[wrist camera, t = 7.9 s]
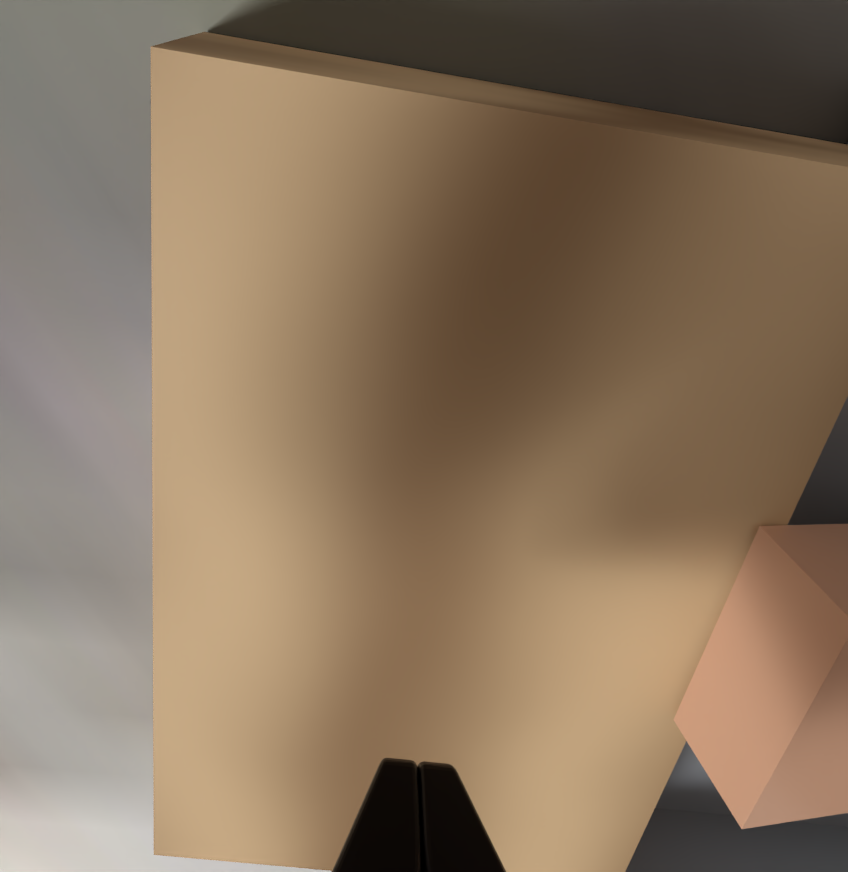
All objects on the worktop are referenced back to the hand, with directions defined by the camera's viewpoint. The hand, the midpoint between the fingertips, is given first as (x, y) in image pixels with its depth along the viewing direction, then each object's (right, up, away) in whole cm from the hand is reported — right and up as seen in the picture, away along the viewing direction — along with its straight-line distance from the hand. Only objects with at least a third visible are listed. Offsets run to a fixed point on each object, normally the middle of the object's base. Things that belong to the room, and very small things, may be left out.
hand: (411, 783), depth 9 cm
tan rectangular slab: (+1, +3, +5) cm, 6 cm away
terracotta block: (+7, +1, +4) cm, 8 cm away
